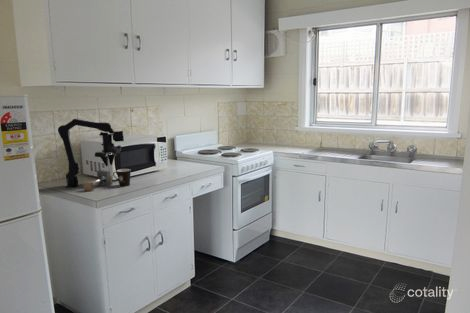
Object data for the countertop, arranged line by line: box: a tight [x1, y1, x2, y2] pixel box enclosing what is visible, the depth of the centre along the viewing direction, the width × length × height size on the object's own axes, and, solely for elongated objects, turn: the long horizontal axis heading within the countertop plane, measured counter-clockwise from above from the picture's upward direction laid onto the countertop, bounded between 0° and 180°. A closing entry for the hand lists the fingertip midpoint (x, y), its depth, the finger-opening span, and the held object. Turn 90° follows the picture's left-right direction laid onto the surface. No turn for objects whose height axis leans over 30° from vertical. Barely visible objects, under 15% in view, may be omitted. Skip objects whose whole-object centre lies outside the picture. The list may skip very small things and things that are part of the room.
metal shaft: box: [83, 175, 113, 192], centre depth 230 cm, size 19×5×5 cm, turn 158°
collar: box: [96, 169, 112, 187], centre depth 234 cm, size 3×8×9 cm, turn 68°
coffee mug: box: [112, 168, 132, 188], centre depth 235 cm, size 12×9×10 cm
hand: (109, 165), depth 238 cm, fingers open, 4 cm apart
